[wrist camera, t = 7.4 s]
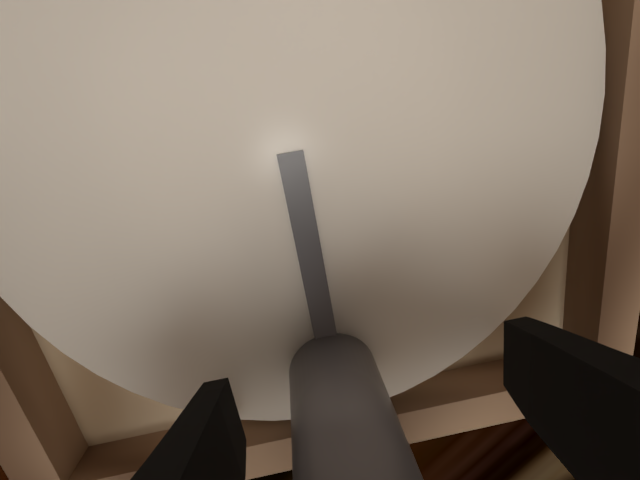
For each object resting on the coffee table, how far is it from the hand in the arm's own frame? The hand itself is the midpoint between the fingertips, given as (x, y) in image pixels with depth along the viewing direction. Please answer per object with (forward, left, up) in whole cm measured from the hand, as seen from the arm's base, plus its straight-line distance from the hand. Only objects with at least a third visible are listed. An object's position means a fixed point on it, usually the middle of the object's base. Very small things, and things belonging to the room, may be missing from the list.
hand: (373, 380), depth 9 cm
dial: (-1, +6, -2) cm, 6 cm away
